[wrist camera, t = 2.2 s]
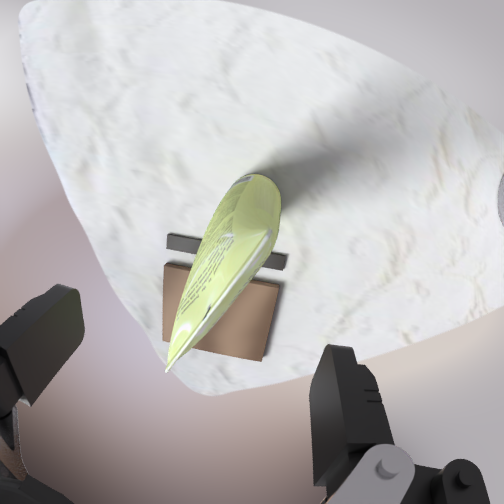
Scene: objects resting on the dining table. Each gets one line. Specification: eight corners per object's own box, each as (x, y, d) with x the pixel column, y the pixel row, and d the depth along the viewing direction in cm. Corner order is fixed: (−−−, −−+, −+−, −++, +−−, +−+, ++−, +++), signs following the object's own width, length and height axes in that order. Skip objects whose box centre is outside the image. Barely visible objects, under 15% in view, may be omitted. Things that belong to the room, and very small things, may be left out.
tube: (284, 228, 29) (285, 376, 11) (232, 233, 30) (162, 375, 12) (278, 169, 27) (271, 234, 9) (223, 176, 28) (121, 249, 10)
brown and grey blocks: (285, 255, 30) (285, 258, 29) (261, 357, 35) (261, 361, 34) (168, 234, 31) (165, 236, 30) (164, 336, 35) (162, 340, 35)
